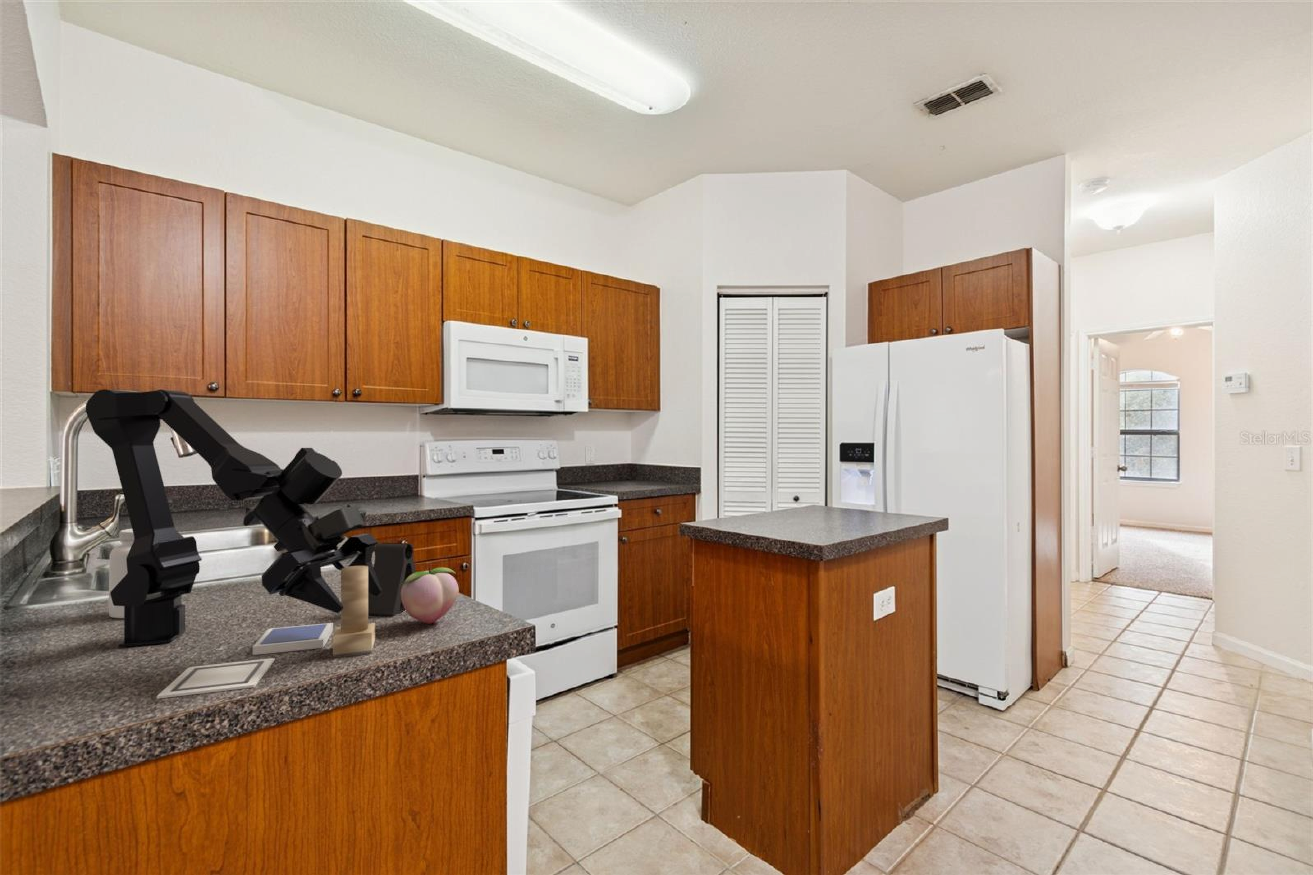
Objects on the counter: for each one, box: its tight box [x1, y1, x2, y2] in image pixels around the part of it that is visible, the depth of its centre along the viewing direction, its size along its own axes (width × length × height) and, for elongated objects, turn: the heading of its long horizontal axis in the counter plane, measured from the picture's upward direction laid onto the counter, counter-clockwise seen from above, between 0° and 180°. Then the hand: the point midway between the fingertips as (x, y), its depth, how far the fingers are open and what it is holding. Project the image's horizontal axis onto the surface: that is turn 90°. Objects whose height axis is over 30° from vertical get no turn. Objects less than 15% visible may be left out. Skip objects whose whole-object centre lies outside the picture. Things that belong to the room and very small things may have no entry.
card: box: [156, 657, 276, 700], centre depth 79 cm, size 10×10×1 cm
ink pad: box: [252, 622, 334, 656], centre depth 93 cm, size 9×9×1 cm
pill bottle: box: [108, 528, 134, 619], centre depth 109 cm, size 8×8×15 cm
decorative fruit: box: [401, 563, 460, 625], centre depth 103 cm, size 9×8×10 cm
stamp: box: [332, 566, 376, 658], centre depth 90 cm, size 5×5×12 cm
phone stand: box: [368, 542, 417, 617], centre depth 112 cm, size 9×6×12 cm, turn 167°
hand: (361, 602), depth 90 cm, fingers open, 9 cm apart
